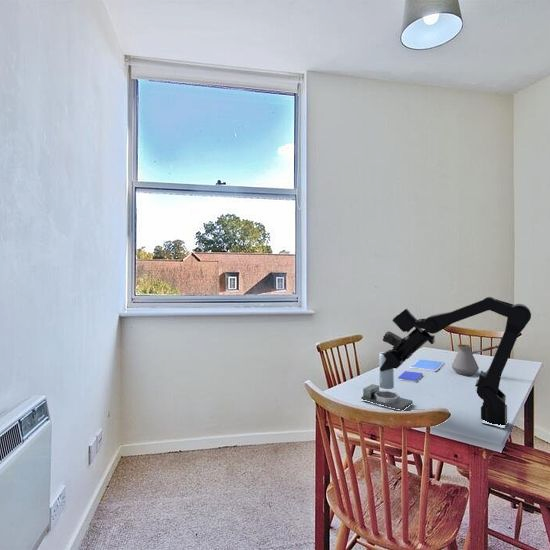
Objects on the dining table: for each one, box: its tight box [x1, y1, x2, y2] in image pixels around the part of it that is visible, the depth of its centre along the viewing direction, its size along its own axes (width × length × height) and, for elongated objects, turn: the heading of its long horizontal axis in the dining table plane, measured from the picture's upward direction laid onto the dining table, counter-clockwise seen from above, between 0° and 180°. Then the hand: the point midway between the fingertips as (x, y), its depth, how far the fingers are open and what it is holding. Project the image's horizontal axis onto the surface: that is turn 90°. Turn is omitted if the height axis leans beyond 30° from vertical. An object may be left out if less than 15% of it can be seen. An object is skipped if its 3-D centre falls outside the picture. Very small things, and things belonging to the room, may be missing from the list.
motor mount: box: [360, 383, 414, 411], centre depth 135 cm, size 16×9×4 cm, turn 46°
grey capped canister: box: [378, 350, 395, 390], centre depth 134 cm, size 5×5×13 cm
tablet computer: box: [409, 359, 445, 373], centre depth 184 cm, size 19×13×1 cm, turn 144°
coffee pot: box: [451, 344, 499, 376], centre depth 168 cm, size 21×12×15 cm, turn 53°
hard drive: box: [397, 370, 424, 383], centre depth 165 cm, size 2×8×12 cm
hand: (382, 368), depth 135 cm, fingers closed on grey capped canister, 5 cm apart
